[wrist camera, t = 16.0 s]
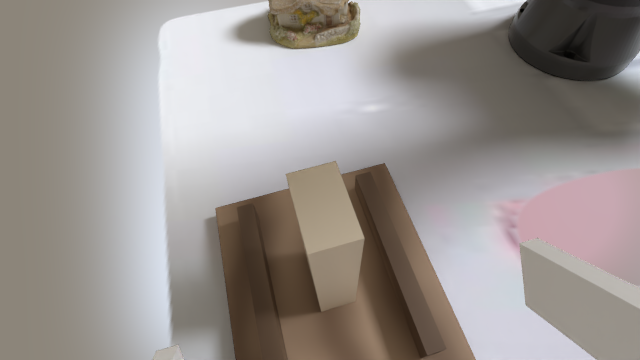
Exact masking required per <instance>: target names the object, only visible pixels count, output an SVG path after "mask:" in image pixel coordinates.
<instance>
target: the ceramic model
mask: <svg viewBox="0 0 640 360" xmlns="http://www.w3.org/2000/svg"><path fill="white" fill-rule="evenodd" d="M348 1H349V0H269V7H270V12H269V14H268V18H269V20H270V23H271V27H270V34H271V37H272V38H273V39H274V40H275V41H276V42H277V43H279V44H281V45H284V46H287V47H290V48H294V49H298V48H311V47H322V46H329V45H336V44H341V43H345V42H348V41H350V40H352V39H354V38H355V37H356V36H357V34H358V31H359V27H360V8H359V6H358V3H355V2H354V3H353V2H352V1H351V2H350V3H349V4H348Z"/></svg>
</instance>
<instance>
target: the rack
mask: <svg viewBox="0 0 640 360" xmlns="http://www.w3.org/2000/svg"><path fill="white" fill-rule="evenodd" d="M341 176H342V179H343V182H344V184H345V187H346V190H347V192H348V195H349V198H350V201H351V203H352V206H353V209H354V211H355V214H356V217H357V219H358V222H359V225H360V227H361V230H362V233H363V235H364V238H365V239H364V245H363V252H362V259H361V266H360V273H359V280H358V286H357V293H356V300H355V302H352V303H349V304H345V305H342V306H339V307H335V308H332V309H329V310H326V311H322V312H321V309H320V305H319V301H318V298H317V294H316V290H315V287H314V283H313V279H312V275H311V272H310V268H309V264H308V261H307V257H306V253H305V249H304V245H303V241H302V237H301V233H300V229H299V225H298V221H297V217H296V213H295V209H294V205H293V201H292V197H291V193H290V189H286V190H282V191H278V192H274V193H270V194H267V195H263V196H259V197H255V198H252V199H248V200H244V201H240V202H237V203H233V204H229V205H225V206H222V207H218V208H216V216H217V223H218V231H219V238H220V246H221V253H222V261H223V268H224V276H225V283H226V291H227V298H228V306H229V313H230V320H231V328H232V335H233V343H234V350H235V358H236V360H476V359H475V357H474V355H473V353H472V350H471V348H470V346H469V344H468V342H467V340H466V337H465V335H464V333H463V331H462V329H461V327H460V325H459V322H458V320H457V318H456V316H455V314H454V312H453V309H452V307H451V305H450V303H449V301H448V299H447V296H446V294H445V292H444V290H443V288H442V286H441V283H440V281H439V279H438V277H437V275H436V273H435V271H434V268H433V266H432V264H431V262H430V260H429V258H428V255H427V253H426V251H425V249H424V247H423V245H422V242H421V240H420V238H419V236H418V234H417V232H416V230H415V227H414V225H413V223H412V221H411V219H410V217H409V214H408V212H407V210H406V208H405V206H404V204H403V201H402V199H401V197H400V195H399V193H398V191H397V189H396V186H395V184H394V182H393V180H392V178H391V176H390V173H389V171H388V169H387V167H386V165H385V163H383V164H380V165H376V166H372V167H368V168H365V169H361V170H357V171H353V172H349V173H346V174H342V175H341Z"/></svg>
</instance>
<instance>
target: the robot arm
mask: <svg viewBox="0 0 640 360" xmlns="http://www.w3.org/2000/svg"><path fill="white" fill-rule="evenodd" d="M509 40H510V43H511V45H512V47H513V49H514V50H515V51H516V52H517V54H518V55H519V56H520V57H521V58H523V59H524V60H525V61H526V62H528V63H529V64H531V65H532V66H534V67H536V68H538V69H540V70H542V71H544V72H547V73H549V74H552V75H555V76H559V77H563V78H568V79H574V80H599V79H604V78H608V77H611V76H614V75H616V74H618V73H620V72H621V71H623V70H624V69H625V68H626V67H627V66H628V65H629V63H630V62H631V61H632V60H633V59H634V58H635V57H636V55H637V54H638V53H639V51H640V0H527V1H526V2H525V3H524V4H523V5H522V6H521V7H520V8H519V10H518V11H517V13H516V15H515V17H514V19H513V21H512V24H511V26H510V28H509ZM520 253H521V263H522V273H523V283H524V293H525V303H526V306H528V307H529V308H530V309H531V310H533V311H534V312H535V313H537V314H538V315H539V316H541V317H542V318H543V319H544V320H546V321H547V322H548V323H550V324H551V325H552V326H554V327H555V328H556V329H557V330H559V331H560V332H561V333H563V334H564V335H565V336H567V337H568V338H569V339H571V340H572V341H573V342H574V343H576V344H577V345H578V346H580V347H581V348H582V349H584V350H585V351H586V352H587V353H589V354H590V355H591V356H593V357H594V358H595V359H597V360H640V288H639V287H637V286H634V285H633V284H631V283H629V282H626V281H624V280H622V279H620V278H618V277H616V276H614V275H612V274H610V273H608V272H606V271H604V270H602V269H600V268H598V267H596V266H593V265H592V264H589V263H588V262H585V261H583V260H581V259H579V258H577V257H575V256H573V255H571V254H569V253H567V252H565V251H563V250H561V249H559V248H557V247H554V246H553V245H551V244H548V243H546V242H544V241H542V240H540V239H538V238H536V239H533V240H530V241H526V242H523V243H520ZM153 360H184V358H183V356H182V353H181V350H180V348H179V345H175V346H172V347H169V348H165V349H162V350H158V351H156V353H155V355H154V357H153Z"/></svg>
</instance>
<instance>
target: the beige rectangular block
mask: <svg viewBox="0 0 640 360" xmlns="http://www.w3.org/2000/svg"><path fill="white" fill-rule="evenodd" d="M286 177H287V181H288V185H289V189H290V193H291V197H292V201H293V205H294V209H295V213H296V217H297V221H298V225H299V229H300V233H301V237H302V241H303V245H304V249H305V253H306V257H307V261H308V264H309V268H310V272H311V275H312V279H313V283H314V287H315V290H316V294H317V298H318V301H319V305H320V309H321V312H322V311H326V310H329V309H332V308H335V307H339V306H342V305H345V304H349V303H352V302H355V300H356V293H357V286H358V280H359V273H360V266H361V259H362V252H363V245H364V239H365V238H364V235H363V233H362V230H361V227H360V225H359V222H358V219H357V217H356V214H355V211H354V209H353V206H352V203H351V201H350V198H349V195H348V192H347V190H346V187H345V184H344V182H343V179H342V176H341V174H340V171H339V168H338V166H337V163H336V161H334V162H330V163H326V164H322V165H319V166H315V167H311V168H307V169H303V170H299V171H296V172H292V173H288V174H286Z"/></svg>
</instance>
